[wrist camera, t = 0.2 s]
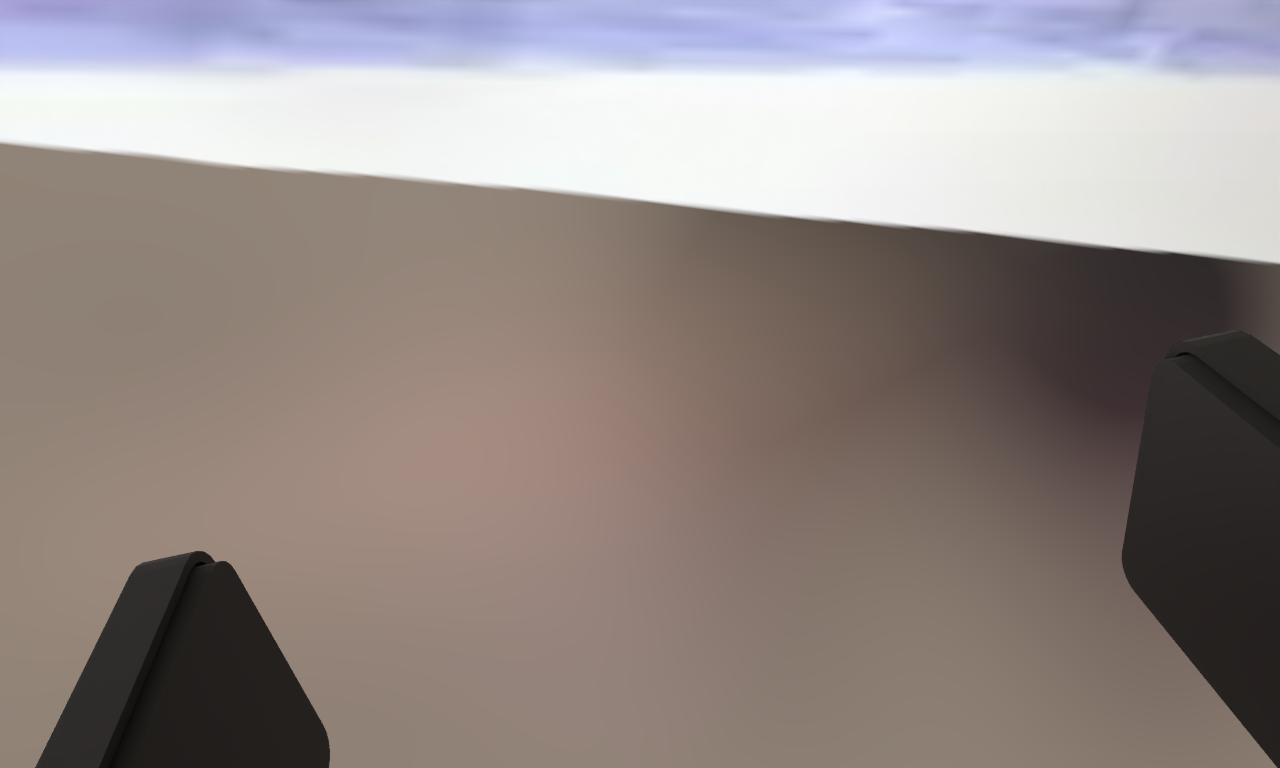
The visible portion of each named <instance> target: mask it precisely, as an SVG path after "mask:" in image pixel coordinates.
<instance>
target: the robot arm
mask: <svg viewBox="0 0 1280 768" xmlns="http://www.w3.org/2000/svg"><path fill="white" fill-rule="evenodd" d="M1122 564H1123V569H1124V572H1125V575H1126V578H1127V580H1128V582H1129V584H1130V586H1131V587H1132V588H1133V590H1134V591H1135V593H1136V594H1137V595H1138V596H1139V598H1140V599H1141V600H1142V601H1143V602H1144V604H1145V605H1146V606H1147V608H1148V609H1149V610H1150V611H1151V612H1152V613H1153V615H1154V616H1155V617H1156V619H1157V620H1158V621H1159V622H1160V624H1161V625H1162V626H1163V627H1164V628H1165V630H1166V631H1167V632H1168V633H1169V635H1170V636H1171V637H1172V638H1173V640H1174V641H1175V642H1176V643H1177V644H1178V646H1179V647H1180V648H1181V649H1182V651H1183V652H1184V653H1185V654H1186V655H1187V657H1188V658H1189V659H1190V660H1191V662H1192V663H1193V664H1194V665H1195V667H1196V668H1197V669H1198V670H1199V671H1200V673H1201V674H1202V675H1203V676H1204V678H1205V679H1206V680H1207V681H1208V683H1209V684H1210V685H1211V686H1212V687H1213V689H1214V690H1215V691H1216V692H1217V694H1218V695H1219V696H1220V697H1221V699H1222V700H1223V701H1224V702H1225V703H1226V705H1227V706H1228V707H1229V708H1230V710H1231V711H1232V712H1233V713H1234V715H1235V716H1236V717H1237V718H1238V719H1239V721H1240V722H1241V723H1242V724H1243V726H1244V727H1245V728H1246V729H1247V731H1248V732H1249V733H1250V734H1251V736H1252V737H1253V738H1254V739H1255V741H1257V743H1258V744H1259V745H1260V747H1261V748H1262V749H1263V750H1264V751H1265V753H1266V754H1267V755H1268V756H1269V758H1270V759H1271V760H1272V761H1273V763H1274V764H1275V765H1276V766H1277V768H1280V355H1279V354H1277V353H1276V352H1274V351H1273V350H1272V349H1270V348H1269V347H1267V346H1266V345H1264V344H1263V343H1261V342H1260V341H1259V340H1257V339H1256V338H1254V337H1253V336H1251V335H1250V334H1247V333H1245V332H1243V331H1236V330H1231V331H1226V332H1222V333H1217V334H1213V335H1207V336H1203V337H1198V338H1193V339H1189V340H1184V341H1180V342H1178V343H1176V344H1173V345H1172V347H1171V348H1170V349H1169V350H1168V352H1167V355H1166V358H1165V360H1162V361H1160V362H1158V363H1157V364H1156V366H1155V367H1154V369H1153V373H1152V377H1151V382H1150V388H1149V394H1148V400H1147V407H1146V412H1145V419H1144V424H1143V431H1142V436H1141V442H1140V448H1139V454H1138V461H1137V466H1136V472H1135V479H1134V484H1133V490H1132V496H1131V502H1130V508H1129V514H1128V520H1127V527H1126V532H1125V538H1124V544H1123V550H1122ZM329 761H330V748H329V740H328V736H327V733H326V730H325V728H324V726H323V724H322V723H321V720H320V719H319V717H318V715H317V713H316V712H315V710H314V708H313V706H312V705H311V703H310V701H309V699H308V698H307V696H306V694H305V693H304V691H303V689H302V687H301V685H300V684H299V682H298V680H297V678H296V677H295V675H294V673H293V671H292V670H291V668H290V666H289V664H288V662H287V661H286V659H285V657H284V656H283V654H282V652H281V650H280V648H279V647H278V645H277V643H276V641H275V640H274V638H273V636H272V634H271V633H270V631H269V629H268V627H267V626H266V624H265V622H264V620H263V619H262V617H261V615H260V613H259V612H258V610H257V608H256V606H255V605H254V603H253V601H252V599H251V598H250V596H249V594H248V592H247V591H246V589H245V587H244V585H243V584H242V582H241V580H240V578H239V577H238V575H237V573H236V571H235V570H234V569H233V567H232V566H231V565H230V564H229V563H227V562H226V561H219V562H215V561H214V560H213V559H212V557H211V556H210V555H208V554H207V553H205V552H202V551H195V552H191V553H186V554H181V555H177V556H172V557H167V558H163V559H158V560H153V561H148V562H144V563H142V564H140V565H138V566H136V567H135V569H134V570H133V572H132V573H131V575H130V576H129V578H128V581H127V582H126V584H125V587H124V589H123V591H122V593H121V595H120V597H119V599H118V601H117V603H116V605H115V607H114V609H113V611H112V613H111V615H110V617H109V619H108V621H107V623H106V625H105V627H104V629H103V631H102V633H101V635H100V637H99V639H98V641H97V643H96V645H95V648H94V650H93V652H92V654H91V656H90V658H89V660H88V662H87V664H86V666H85V668H84V670H83V672H82V674H81V676H80V678H79V680H78V682H77V684H76V686H75V688H74V690H73V692H72V694H71V696H70V698H69V701H68V702H67V704H66V707H65V709H64V710H63V713H62V714H61V716H60V719H59V721H58V723H57V725H56V727H55V729H54V731H53V733H52V735H51V737H50V739H49V741H48V743H47V745H46V747H45V749H44V751H43V753H42V755H41V757H40V759H39V761H38V763H37V765H36V767H35V768H329Z"/></svg>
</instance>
